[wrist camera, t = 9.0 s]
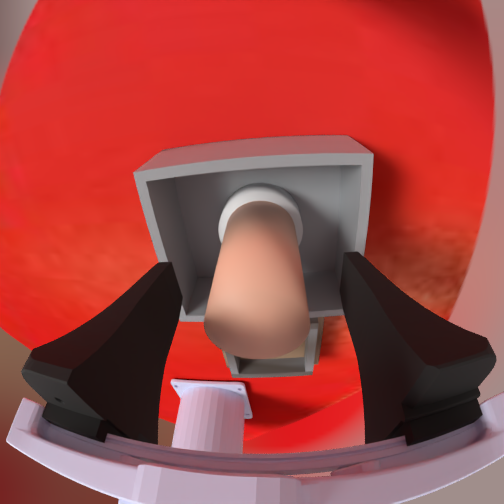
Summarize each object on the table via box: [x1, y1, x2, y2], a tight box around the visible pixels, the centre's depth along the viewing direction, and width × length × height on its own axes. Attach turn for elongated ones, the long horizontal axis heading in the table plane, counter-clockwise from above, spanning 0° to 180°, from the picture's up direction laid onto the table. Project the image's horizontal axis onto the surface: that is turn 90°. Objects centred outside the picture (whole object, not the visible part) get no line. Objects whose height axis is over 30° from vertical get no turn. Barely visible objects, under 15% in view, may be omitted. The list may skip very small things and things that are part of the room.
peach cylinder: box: [204, 183, 310, 359], centre depth 13 cm, size 4×4×8 cm
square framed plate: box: [222, 317, 324, 378], centre depth 21 cm, size 8×8×2 cm
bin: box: [133, 135, 374, 322], centre depth 15 cm, size 9×10×4 cm
